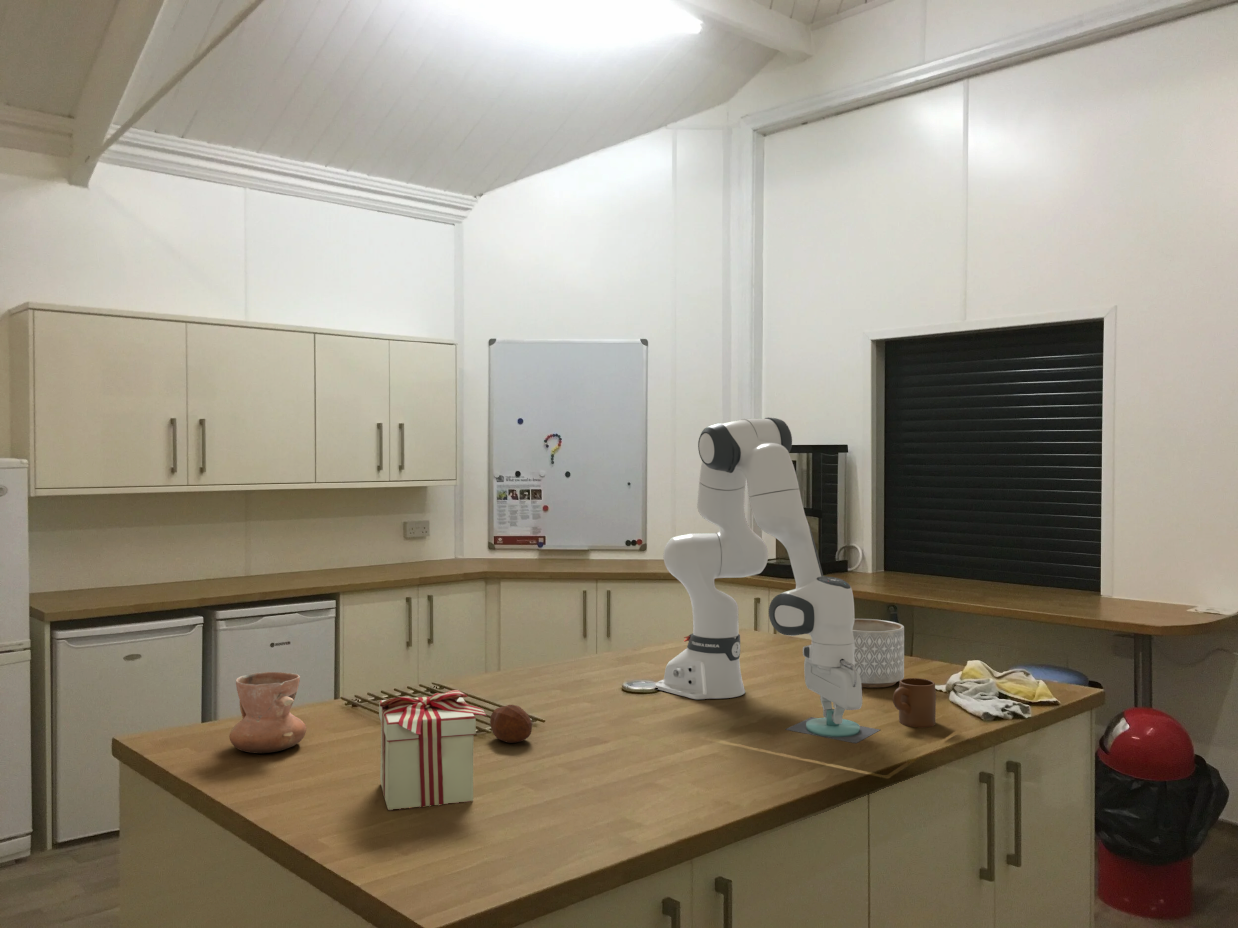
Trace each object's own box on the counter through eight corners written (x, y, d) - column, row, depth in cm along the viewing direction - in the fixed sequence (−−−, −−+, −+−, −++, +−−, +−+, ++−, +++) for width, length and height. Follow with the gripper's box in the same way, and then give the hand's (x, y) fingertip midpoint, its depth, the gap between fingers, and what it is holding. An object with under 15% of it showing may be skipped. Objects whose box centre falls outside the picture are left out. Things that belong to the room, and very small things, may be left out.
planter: (912, 678, 258) (913, 622, 258) (891, 692, 242) (891, 634, 242) (843, 669, 268) (843, 616, 268) (818, 683, 252) (818, 626, 252)
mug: (910, 736, 206) (910, 691, 206) (879, 728, 212) (879, 684, 211) (942, 725, 213) (942, 682, 213) (912, 718, 219) (912, 676, 219)
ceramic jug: (323, 748, 198) (322, 676, 198) (254, 764, 187) (253, 689, 187) (278, 732, 210) (278, 665, 210) (211, 746, 200) (210, 676, 200)
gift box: (391, 820, 160) (391, 713, 159) (372, 784, 177) (371, 688, 176) (494, 805, 166) (493, 702, 166) (465, 772, 183) (465, 679, 183)
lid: (796, 730, 208) (796, 711, 208) (820, 719, 216) (820, 701, 216) (845, 740, 201) (845, 720, 201) (868, 728, 210) (868, 709, 209)
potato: (509, 731, 209) (509, 696, 209) (544, 741, 202) (544, 705, 202) (478, 740, 203) (478, 704, 203) (513, 751, 196) (513, 713, 196)
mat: (785, 731, 209) (785, 729, 209) (811, 719, 218) (811, 716, 218) (856, 745, 199) (856, 742, 199) (880, 732, 208) (880, 729, 208)
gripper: (870, 664, 199) (870, 733, 199) (825, 644, 219) (825, 707, 219) (841, 666, 197) (841, 735, 198) (799, 646, 217) (799, 708, 218)
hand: (832, 720), depth 209 cm, fingers closed on lid, 3 cm apart
